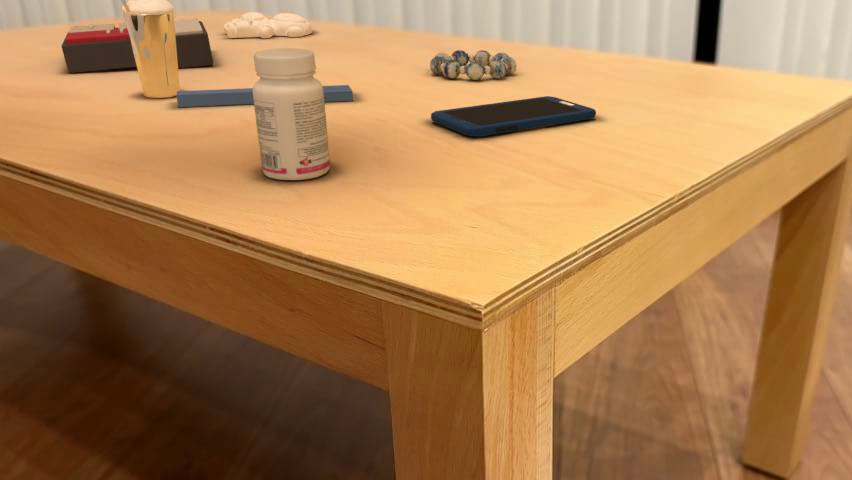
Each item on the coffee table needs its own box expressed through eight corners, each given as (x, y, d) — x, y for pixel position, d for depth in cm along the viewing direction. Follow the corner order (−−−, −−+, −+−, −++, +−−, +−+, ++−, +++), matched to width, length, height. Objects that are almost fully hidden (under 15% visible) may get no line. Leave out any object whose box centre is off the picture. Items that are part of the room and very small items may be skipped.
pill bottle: (332, 162, 65) (322, 46, 61) (329, 180, 60) (318, 58, 57) (266, 163, 64) (252, 47, 60) (258, 182, 60) (243, 58, 56)
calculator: (65, 24, 100) (200, 14, 106) (75, 62, 102) (207, 50, 108) (58, 38, 91) (206, 26, 96) (69, 79, 93) (214, 65, 98)
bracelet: (532, 72, 99) (532, 55, 98) (480, 85, 92) (480, 66, 91) (465, 63, 104) (465, 46, 103) (411, 74, 97) (411, 56, 96)
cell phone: (599, 117, 79) (599, 109, 79) (471, 138, 71) (471, 129, 71) (551, 103, 84) (551, 95, 84) (427, 120, 77) (427, 112, 76)
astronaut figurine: (223, 31, 123) (220, 9, 122) (308, 28, 127) (306, 7, 126) (226, 40, 116) (223, 16, 115) (316, 37, 120) (314, 14, 119)
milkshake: (119, 98, 83) (99, -12, 78) (163, 88, 87) (146, -17, 83) (154, 103, 81) (135, -9, 77) (197, 93, 85) (181, -14, 81)
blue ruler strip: (177, 109, 79) (175, 96, 79) (179, 102, 82) (177, 89, 81) (353, 100, 84) (352, 88, 83) (349, 94, 86) (348, 82, 86)
